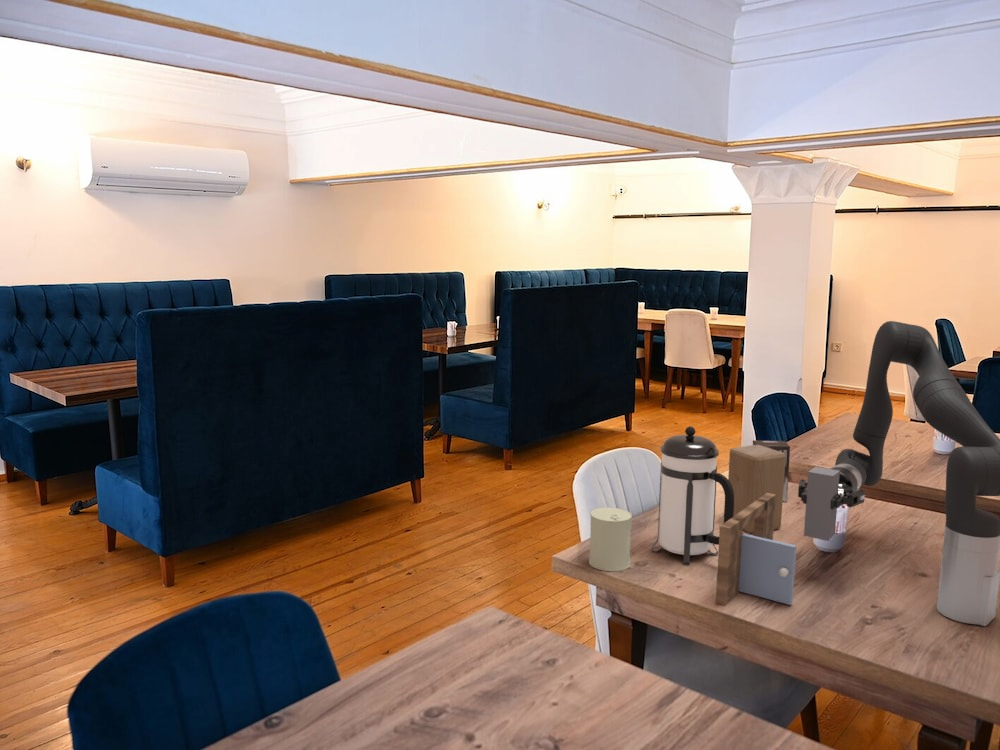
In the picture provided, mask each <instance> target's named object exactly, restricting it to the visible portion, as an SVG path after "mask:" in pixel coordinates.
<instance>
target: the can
mask: <svg viewBox="0 0 1000 750" xmlns="http://www.w3.org/2000/svg"><path fill="white" fill-rule="evenodd" d="M632 515H633V514H632V513H631V511H628V510H625V509H623V508H618V507H598V508H595V509H593V510H591V512H590V537H589V543H590V544H589V548H590V549H589V559H588V563H589V565H590V567H592V568H594V569H596V570H599V571H604V572H622V571H625V570H627V569H629V568H630V567H631V536H632V535H631V533H632V532H631V531H632V517H633V516H632Z"/></svg>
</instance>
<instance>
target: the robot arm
mask: <svg viewBox="0 0 1000 750" xmlns="http://www.w3.org/2000/svg"><path fill="white" fill-rule="evenodd" d="M874 336H875V338H874V340H873V343H872V350H871V355H870V361H869V367H868V371H867V378H866V386H865V392H864V397H863V402H862V405H861V409H860V412H859V415H858V418H857V420H856V424H855V427H854V431H853V433H852V439H853V440H854V441H855V442H856V443H858V444H860V445H861V446H862V447H864V448H865V449H866V450H867V451H868V454H866V453H863V452H861V451H858V450H854V449H851V448H846V449H845V448H844V449H843V450H841V451H840V452H839V453H838V455H837V457H836V460H835V464H834V466H831V467H830V468H829V469H833V470H839V471H840V475H839V488H838V495H835V496H834V497H833V498H832V499H831V506H830V508H831V509H835V508H837V509H839V508H840V507H843V506H844V505H846V507H849V508H854V507H856V506H858V505H860V504H863V503H865V497H866V491H865V490H864V489H860V488H862V487H863V486H866V487H873V486H875V485H876V484H878V483H879V482H880V481H881V479H882V476H883V471H884V470H883V468H884V463H883V461H884V459H883V458H884V446H885V442H886V438H887V436H888V433H889V430H890V427H891V424H892V420H893V414H894V413H893V412H894V410H893V404H892V403H893V402H892V399H891V395H890V391H889V387H888V386H889V385H888V379H887V378H888V371H889V368H890V366H891V365H890V364H891V363H896V364H903V365H908V366H910V367H912V368H913V370H915V372H916V373H917V375H918V378H917V380H916V382H915V384H914V387H913V391H912V398H913V402H914V403H915V406H916V408H917V409H918V410H919V413H920V414H921V416H922V417H923V419H924V420H925V422H926V423H927V424H928V425H930V427H932V429H934V430H936V431H937V432H939V433H940V434H942V435H944V436H945V437H947V438H949V439H951V440H952V441H954V442H956V443H957V444H959V445H960V446H957V447H955V448H953V450H951V452H950V454H949V455H948V458H947V463H946V471H945V472H946V474H945V498H944V511H945V512H944V513H945V526H944V527H945V528H944V534H943V535H944V536H943V542H942V543H943V544H942V553H941V554H942V555H941V564H940V571H939V572H940V573H939V583H938V584H939V585H938V592H937V593H938V594H937V604H936V610H937V611H938V612H939V613H940V614H941V615H942V616H944V617H947V618H948V619H951V620H953V621H956V622H959V623H964V624H969V625H979V626H982V627H986V626H988V625H989V624H990V623H991V622H992V621H993V620H994V619H995V618H996V613H997V603H998V596H999V586H1000V569H999V568H998V567H999V566H998V565H999V557H1000V516H998V515H997V514H995V513H994V512H990V511H988V510H985V509H982V508H979V507H977V497H1000V438H999V436H998V435H997V434H996V433H995V432H994V431H993V429H992V428H990V426H989V425H988V424H987V423H986V421H985V420H984V418H983V417H982V416H981V415H980V413H979V411H978V410H977V409H976V408H975V406H974V404H973V403H972V401H971V400H970V398H969V396H968V395H967V393H966V392H965V390H964V389H963V388H962V386H961V384H960V383H959V382H958V380H957V379H956V377H954V375H953V373H952V372H951V370H950V368H949V367H948V364H946V362H945V360H944V358H943V356H942V354H941V351H940V350H939V348H938V346H937V343H936V341H935V339H934V337H933V335H932V334H931V333H930V331H929V330H928V329H927V328H925V327H923V326H920V325H917V324H910V323H904V322H899V321H895V320H894V321H893V320H890V321H885V322H884V323H883V324H882V325H880V326H879V328H878V330H877V332H876V334H875V335H874ZM807 483H808V481H806V480H805V479H804V478H803V479H799V484H798V489H797V490H798V492H797V497H798V498H800V501H801V502H802V504H805V505H806V502H807Z"/></svg>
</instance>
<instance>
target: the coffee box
mask: <svg viewBox="0 0 1000 750" xmlns="http://www.w3.org/2000/svg"><path fill="white" fill-rule="evenodd" d="M753 445H761V446H764V447H767V448H770V449H773V450H777V451H780V452H783V453H784V454H785V456H786V457H785V472H784V487H783V501H784V502H785V503H786V502H788V494H789V493H788V491H789V475H790V454H791V446H790V445H789V443H787V442H786V441H785V440H752V446H753Z"/></svg>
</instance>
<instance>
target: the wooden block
mask: <svg viewBox="0 0 1000 750" xmlns="http://www.w3.org/2000/svg"><path fill="white" fill-rule="evenodd" d="M785 457H786V456H785V454H784V453H783V452H780V451H777V450H773V449H770V448H767V447H764V446H761V445H753V444H752V445H745V446H737V447H732V448H730V451H729V458H728V459H729V461H728V478H727V479H728V480H729V481H730V483H731V485H732V488H733V492H734V513H733V517H734V516H735V515H736V514H738V513H739V512H741V511H742V510H743V509H745V508H746V507H748V506H749V505H750V504H752V503H753V502H755V501H756V500H758V499H759V498H760V497H762V496H763V495H765V494H766V493H770V494H775V495H776V500H775V515H774V530H779V529H781V527H782V515H783V514H782V513H783V487H784V472H785ZM754 523H755V519H754V520H753V521H751V522H750V523H749V524H747V525H746V526H745V527H743V528H742V531H745V532H747V533H748V534H750V535H754ZM774 530H773V531H774Z"/></svg>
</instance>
